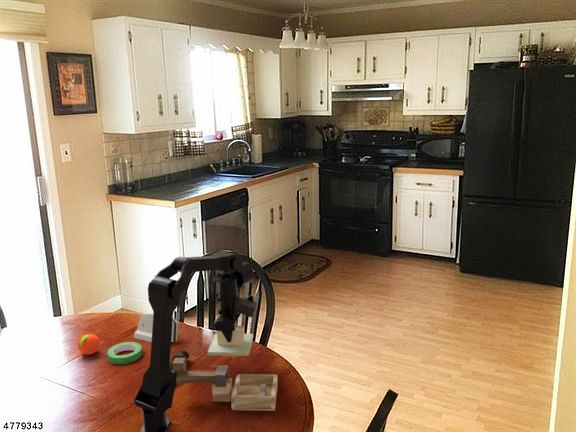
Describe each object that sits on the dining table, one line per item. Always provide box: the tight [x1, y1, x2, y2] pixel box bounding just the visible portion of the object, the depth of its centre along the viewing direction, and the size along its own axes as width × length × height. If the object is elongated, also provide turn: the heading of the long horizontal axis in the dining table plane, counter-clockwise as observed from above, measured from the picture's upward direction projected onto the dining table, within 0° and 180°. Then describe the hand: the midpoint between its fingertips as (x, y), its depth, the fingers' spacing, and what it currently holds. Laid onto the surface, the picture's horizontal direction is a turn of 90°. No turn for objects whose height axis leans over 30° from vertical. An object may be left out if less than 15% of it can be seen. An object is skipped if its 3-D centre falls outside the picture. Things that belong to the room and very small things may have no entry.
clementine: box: [77, 333, 101, 356], centre depth 172 cm, size 8×7×7 cm
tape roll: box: [107, 341, 143, 365], centre depth 171 cm, size 11×11×3 cm
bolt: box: [169, 350, 190, 370], centre depth 161 cm, size 6×5×15 cm
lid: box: [207, 325, 254, 357], centre depth 157 cm, size 12×12×6 cm
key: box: [172, 358, 216, 384], centre depth 144 cm, size 3×12×6 cm, turn 87°
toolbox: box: [211, 365, 279, 411], centre depth 145 cm, size 12×18×9 cm, turn 87°
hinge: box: [133, 312, 179, 343], centre depth 183 cm, size 17×5×10 cm, turn 63°
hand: (230, 339), depth 157 cm, fingers closed on lid, 3 cm apart
